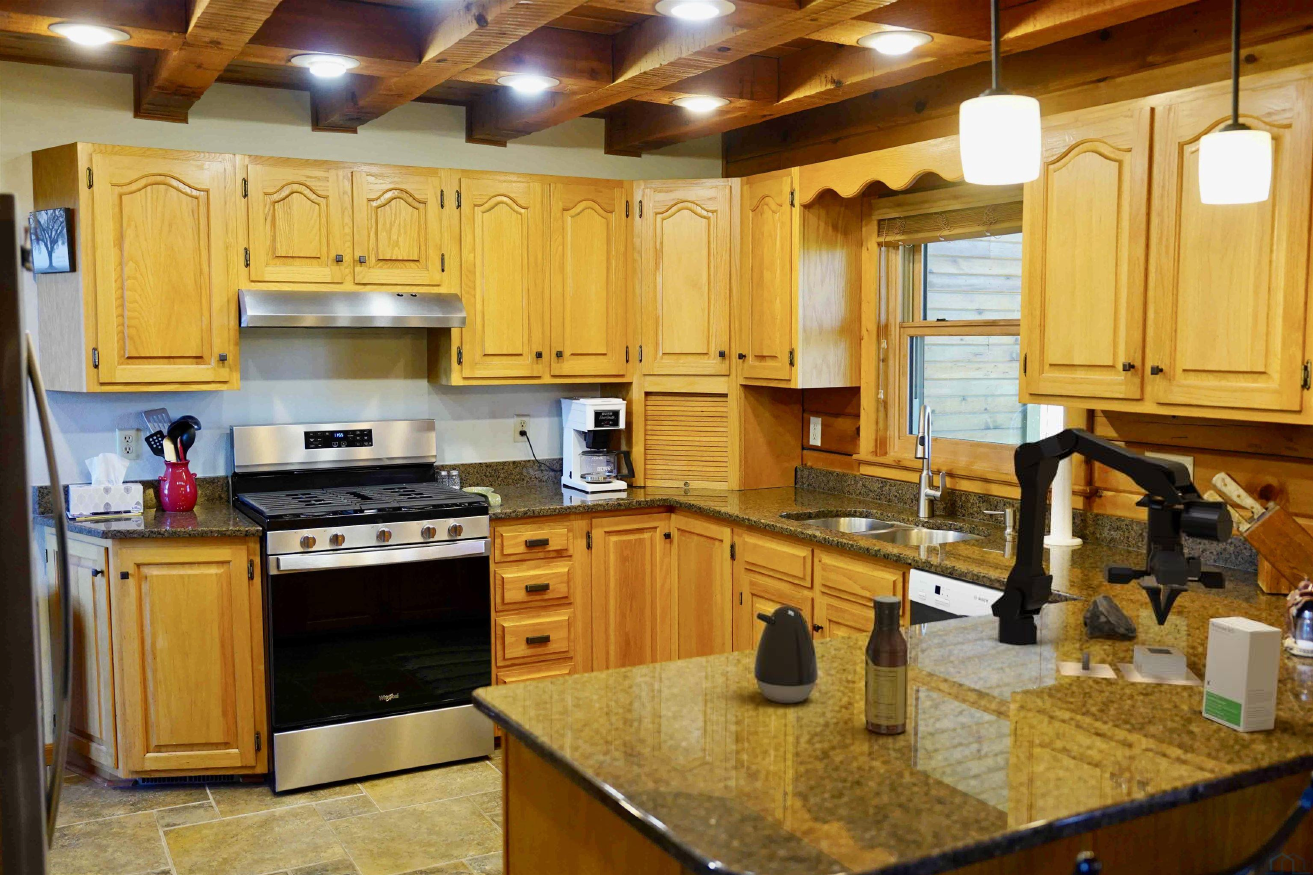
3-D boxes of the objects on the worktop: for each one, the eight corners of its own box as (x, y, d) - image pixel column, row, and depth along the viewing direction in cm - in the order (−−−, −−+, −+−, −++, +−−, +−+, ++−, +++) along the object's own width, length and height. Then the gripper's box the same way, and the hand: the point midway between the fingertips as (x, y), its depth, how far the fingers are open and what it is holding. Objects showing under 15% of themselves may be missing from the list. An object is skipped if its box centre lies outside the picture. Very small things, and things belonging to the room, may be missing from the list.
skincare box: (1200, 717, 180) (1205, 618, 179) (1234, 713, 183) (1238, 615, 181) (1244, 733, 172) (1249, 630, 171) (1278, 729, 175) (1283, 627, 174)
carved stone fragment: (1144, 641, 226) (1120, 595, 227) (1099, 660, 229) (1075, 614, 229) (1135, 627, 237) (1112, 583, 237) (1092, 645, 239) (1069, 601, 240)
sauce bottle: (877, 720, 177) (880, 591, 176) (914, 728, 173) (918, 597, 172) (855, 730, 172) (858, 597, 171) (893, 739, 168) (897, 604, 167)
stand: (1061, 681, 199) (1062, 658, 199) (1054, 667, 208) (1055, 645, 208) (1117, 685, 198) (1118, 661, 197) (1107, 671, 206) (1108, 649, 206)
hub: (1128, 688, 196) (1129, 663, 195) (1115, 669, 207) (1116, 646, 207) (1204, 693, 193) (1206, 668, 193) (1187, 673, 205) (1188, 650, 205)
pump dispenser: (742, 693, 190) (743, 601, 189) (798, 687, 194) (800, 597, 193) (769, 711, 181) (771, 614, 180) (828, 704, 184) (830, 610, 183)
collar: (1133, 667, 204) (1134, 645, 204) (1175, 670, 203) (1176, 647, 203) (1141, 678, 198) (1142, 655, 197) (1185, 680, 196) (1186, 657, 196)
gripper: (1115, 540, 193) (1111, 632, 194) (1237, 545, 189) (1232, 639, 190) (1103, 530, 204) (1100, 618, 205) (1218, 534, 200) (1214, 624, 201)
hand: (1160, 625), depth 200 cm, fingers closed
